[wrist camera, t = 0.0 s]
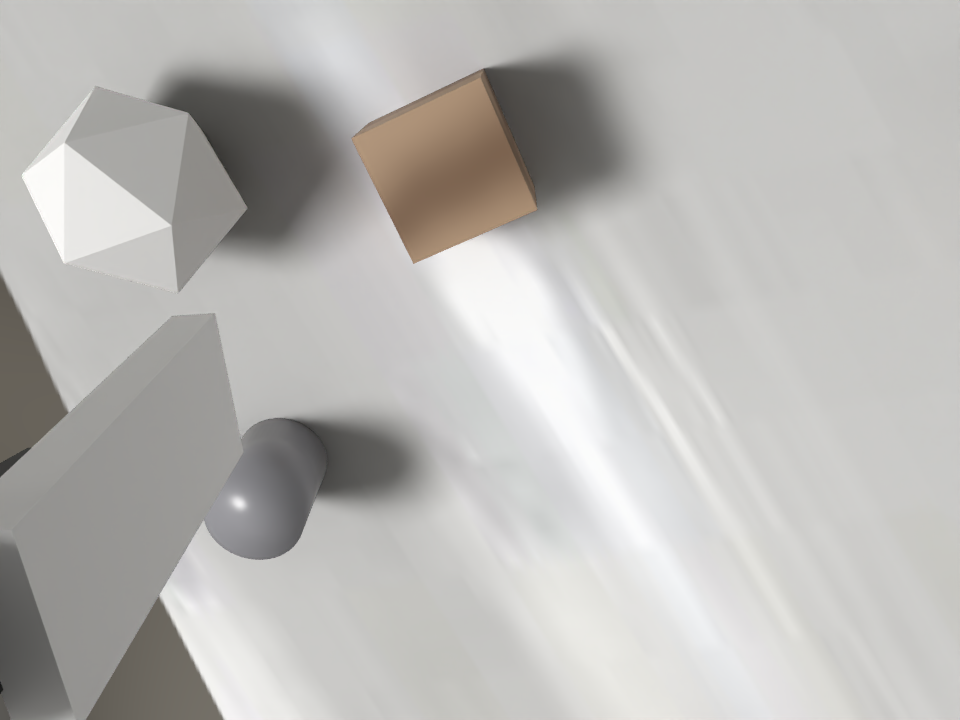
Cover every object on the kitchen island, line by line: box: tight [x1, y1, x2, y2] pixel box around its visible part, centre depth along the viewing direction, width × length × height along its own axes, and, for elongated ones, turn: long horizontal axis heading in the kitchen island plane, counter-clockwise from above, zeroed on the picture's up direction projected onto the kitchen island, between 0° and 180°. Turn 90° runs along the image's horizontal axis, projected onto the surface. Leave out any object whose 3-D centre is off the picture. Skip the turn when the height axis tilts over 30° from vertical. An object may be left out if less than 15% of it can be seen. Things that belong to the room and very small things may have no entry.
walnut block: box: [351, 68, 537, 264], centre depth 39 cm, size 6×6×5 cm
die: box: [21, 86, 248, 293], centre depth 39 cm, size 8×9×10 cm
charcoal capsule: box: [204, 418, 327, 560], centre depth 45 cm, size 5×5×6 cm
